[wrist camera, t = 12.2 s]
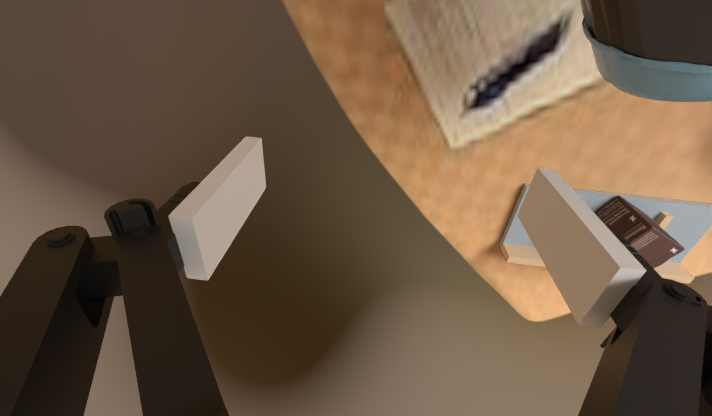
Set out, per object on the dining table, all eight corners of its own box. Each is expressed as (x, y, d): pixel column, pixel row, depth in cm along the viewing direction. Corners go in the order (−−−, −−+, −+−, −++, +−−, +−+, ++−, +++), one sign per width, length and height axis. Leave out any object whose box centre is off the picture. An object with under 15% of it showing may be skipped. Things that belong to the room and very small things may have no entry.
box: (617, 192, 43) (655, 226, 37) (647, 214, 45) (687, 249, 39) (577, 223, 46) (606, 258, 40) (606, 242, 48) (638, 279, 42)
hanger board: (524, 183, 45) (537, 202, 41) (719, 204, 44) (752, 225, 40) (498, 244, 51) (507, 266, 47) (669, 264, 50) (693, 287, 46)
